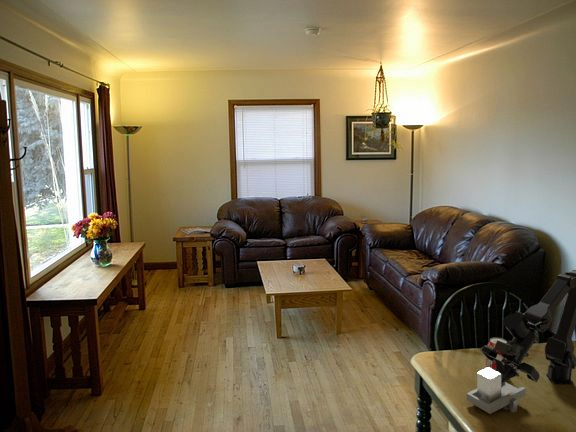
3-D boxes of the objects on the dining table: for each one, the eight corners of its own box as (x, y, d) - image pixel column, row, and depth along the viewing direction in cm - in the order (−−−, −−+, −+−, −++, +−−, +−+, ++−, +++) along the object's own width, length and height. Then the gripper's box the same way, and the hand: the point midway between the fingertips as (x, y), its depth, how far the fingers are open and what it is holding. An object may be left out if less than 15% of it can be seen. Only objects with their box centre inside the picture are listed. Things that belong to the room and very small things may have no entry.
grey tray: (501, 382, 170) (501, 375, 169) (525, 395, 162) (525, 388, 162) (466, 400, 162) (466, 393, 162) (490, 414, 155) (490, 406, 154)
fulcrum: (487, 393, 169) (488, 383, 169) (517, 410, 159) (518, 399, 159) (481, 395, 168) (482, 385, 167) (511, 413, 158) (512, 401, 157)
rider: (488, 392, 164) (488, 367, 162) (501, 399, 160) (501, 373, 158) (477, 397, 162) (477, 372, 160) (490, 405, 157) (490, 379, 155)
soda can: (504, 378, 179) (507, 346, 177) (483, 373, 183) (486, 342, 181) (508, 370, 185) (510, 339, 183) (487, 365, 189) (489, 335, 187)
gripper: (486, 321, 169) (460, 360, 165) (536, 342, 152) (509, 385, 149) (500, 339, 174) (475, 376, 170) (550, 361, 158) (524, 403, 154)
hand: (495, 384), depth 161 cm, fingers closed
